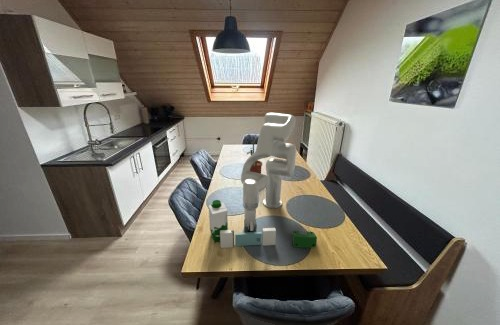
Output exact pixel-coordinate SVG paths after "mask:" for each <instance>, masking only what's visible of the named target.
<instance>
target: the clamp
mask: <svg viewBox="0 0 500 325" xmlns="http://www.w3.org/2000/svg"><path fill="white" fill-rule="evenodd" d="M291 236H292V245H293V247H295V248H306V249H307V248H309V249H314V248H316V247H317V240H318V236H317V235H316V233H315V232H314V231H307V232H306V233H301V232H299V231H298V230H292V234H291Z"/></svg>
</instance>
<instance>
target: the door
mask: <svg viewBox="0 0 500 325" xmlns="http://www.w3.org/2000/svg"><path fill="white" fill-rule="evenodd" d="M262 232H263V231H256V232H248V233H244V232H234V247H239V246H240V247H241V246H245V247H246V246H257V245H258V246H260V245H262Z"/></svg>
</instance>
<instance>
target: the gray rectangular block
mask: <svg viewBox="0 0 500 325" xmlns="http://www.w3.org/2000/svg"><path fill="white" fill-rule="evenodd" d="M243 223H244V224H243V225H244V226H243V233H247V231H248V227H246V226H245V218H244V220H243ZM249 225H250V224H249ZM249 228H250V227H249ZM254 232H257V220H256V221H255V226H254Z"/></svg>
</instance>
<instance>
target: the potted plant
mask: <svg viewBox="0 0 500 325" xmlns="http://www.w3.org/2000/svg"><path fill="white" fill-rule="evenodd" d="M250 143H251V144H252V147H250V151H248V152H246V155H249V154H250V156H251V155H252V154H254V153H255V137H252V142H250ZM262 166H263V162H262V161H261V160H257V161H256V162H254V163H253V164H252V166H251V168H250V172H255V173H259V174H262Z"/></svg>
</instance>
